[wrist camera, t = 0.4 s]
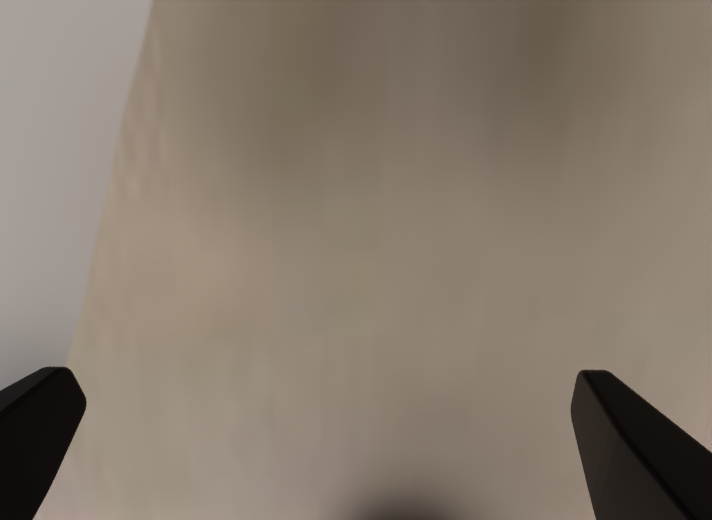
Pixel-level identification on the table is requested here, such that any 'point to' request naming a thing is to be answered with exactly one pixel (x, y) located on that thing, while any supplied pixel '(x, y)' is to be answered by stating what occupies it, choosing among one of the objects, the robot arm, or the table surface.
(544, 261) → the table surface
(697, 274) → the table surface
